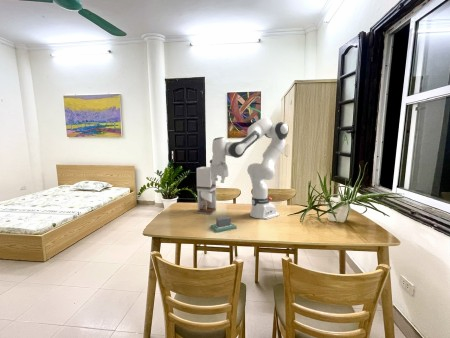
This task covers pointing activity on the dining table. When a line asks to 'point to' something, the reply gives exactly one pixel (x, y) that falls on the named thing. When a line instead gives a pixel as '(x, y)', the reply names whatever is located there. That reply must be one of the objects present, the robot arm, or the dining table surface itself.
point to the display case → (206, 191)
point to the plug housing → (223, 221)
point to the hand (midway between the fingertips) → (219, 181)
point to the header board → (223, 227)
